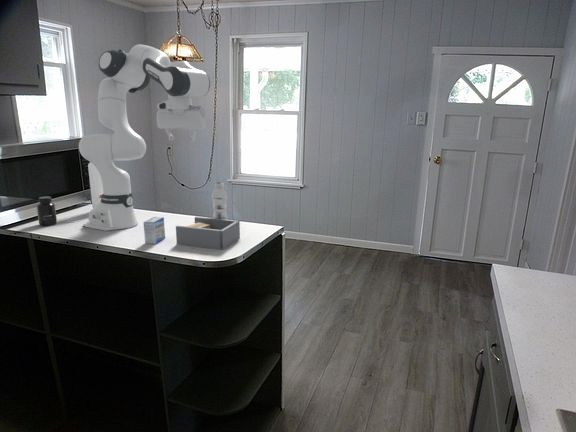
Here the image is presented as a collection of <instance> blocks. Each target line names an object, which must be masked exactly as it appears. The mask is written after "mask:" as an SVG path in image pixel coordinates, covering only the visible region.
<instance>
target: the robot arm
mask: <svg viewBox="0 0 576 432" xmlns="http://www.w3.org/2000/svg"><path fill="white" fill-rule="evenodd" d="M98 69H99V70H100V71H101V73H103V75H105V76H106V78H103V79H102V80H101V81H100V83H99V88H98V95H97V117H98V121H99V122H100V124H101V125H103V126H104V127H105V128H108V129H109V130H112V131H114V133H93V134H87V135H83V136H82V137H81V138H80V140H79V142H78V150H79V153H80V155H81V157H83V158H84V159H85V160H87V161H89V163H90V162H91V163H92V164H93V165H94V166H95V167H96V168H97V170H98V172H99V174H100V176H101V180H102V186H103V194H102V195H99V196H100V197H99V198H101V201H100V203H99V204H98V205H97V206H96V207H94V208H93V207H92V209H91V210H90V211H89V213H88V220H87V221H85V222H84V223H83V224H82V225H83V227H87V228H89V229H90V228H91V229H95V230H101V231H104V232H105V231H106V232H107V231H115V230H122V229H128V228H133V227H136V226H137V225H138V219H137V217H136V214H135V210H134V205H133V204H134V195H133V192H132V186H131V177H130V174H129V173H128V172H127V171H126V170H124V169H122V168H119V167H117V166H116V165H115V163H114V161H115V162H117V161H135V160H139V159H142V158H144V156H145V154H146V152H147V144H146V141H145V140H144V138H143V137H142V136H141V135H139V134H138V133H137V132H136V131H134V130H133V128H132V127H131V126H130V125H131V124H129V120H128V114H127V113H128V112H127V110H128V109H127V94H128V92H129V93H131V94H135V93H137V92H140V91H143V90H144V89H147V87H148V86H149V85H150V82H151V79H152V80H153V81H155V82H156V83H158V84H159V85H160V86H161V87H162V88H163V89H164V91H165V92H166V93H167V94H168V96H167V97H168V98H167V100H165V101H162V102H160V103H157V104H156V108H157V109H158V110H157V113H156V125H157V128H158V129H164V130H165V133H166V134H167V136H168V141H175V135H173V134H172V130H189V131H190V130H191V133H192V135H191V136H189V142H195V141H196V137H197V134H198V131H204V130H205V129H206V128H207V125H206V124H207V123H206V117H205V114H206V113H205V109H204V107H203V106H201V105H194V104H192V103H193V100H192V97H205V96H206V95H207V94H208V92H209V91H210V88H211V79H210V77H209V75H208V74H207V73H206V72H205V71H203V70H200V69H198V68H195V67H194V66H192V65H191V64H190V63H189V62H188V61H186V60H174V61H171V59H170V57H169V56H168V55H167V54H166V53H165V52H163V51H162V50H160V49H158V48H156V47H153V46H151V45H146V44H140V43H139V44H135V45H134V46H133V47H131V49H130V50H129V52H125V51H124V50H123V49H117V50H116V49H114V50H113V49H109V50H106V51H104V52H103V53H102V54H100V56H99V59H98Z"/></svg>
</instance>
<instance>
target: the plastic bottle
mask: <svg viewBox="0 0 576 432" xmlns="http://www.w3.org/2000/svg"><path fill="white" fill-rule="evenodd" d="M224 188H225V183H224V182H221V181H217V182H215V183H214V190H213V191H212V193H211V200H212V208H213V215H212V216H213V217H212V218H215V219H225V220H229V219H228V212H227V211H228V210H227V206H228V205H227V203H228V194H227V193H228V192H227V191H226V190H225V189H224Z"/></svg>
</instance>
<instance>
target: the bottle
mask: <svg viewBox="0 0 576 432" xmlns="http://www.w3.org/2000/svg"><path fill="white" fill-rule="evenodd" d="M87 167H88V168H87V169H88V176H89V177H88V178H89V188H90V196H91V205H92V209H93V208H94V207H96V206H97V205H98V204H99V203H100V201H101V198H99V197H100V196H99V195H102V194H103V186H102V180H101V176H100V174H99V172H98V170H97V168H96V167H95V166H94V165H93V164H92V163H91V162H90V161H89V162H88V165H87Z"/></svg>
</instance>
